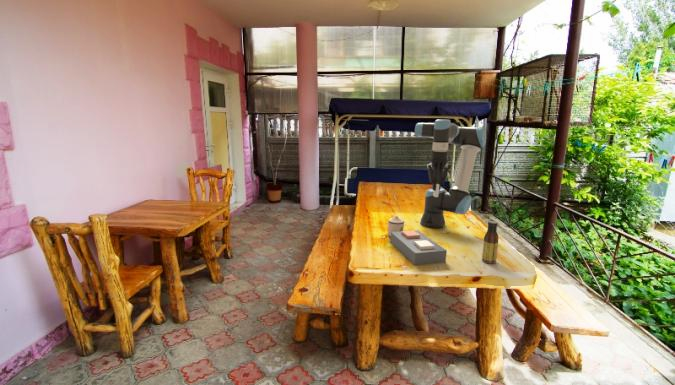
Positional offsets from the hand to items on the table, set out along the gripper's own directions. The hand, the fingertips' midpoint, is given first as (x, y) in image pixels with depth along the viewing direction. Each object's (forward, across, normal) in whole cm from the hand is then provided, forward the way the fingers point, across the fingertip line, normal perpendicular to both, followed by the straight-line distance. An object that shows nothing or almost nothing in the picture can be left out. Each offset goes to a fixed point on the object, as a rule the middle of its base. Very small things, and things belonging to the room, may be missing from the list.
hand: (435, 196), depth 166 cm
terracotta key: (+23, -13, -1) cm, 26 cm away
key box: (+26, -13, -8) cm, 31 cm away
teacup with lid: (+27, -13, +17) cm, 34 cm away
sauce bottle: (+27, +16, -25) cm, 40 cm away
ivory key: (+23, -13, -15) cm, 30 cm away
